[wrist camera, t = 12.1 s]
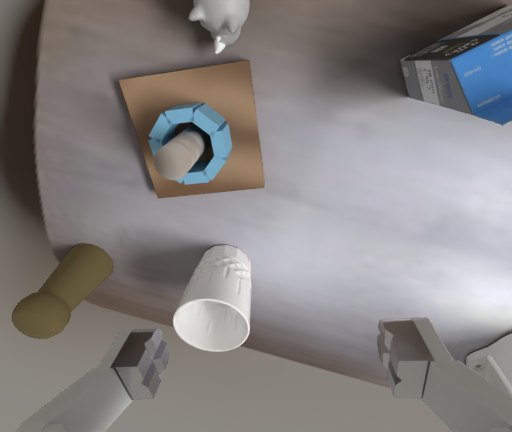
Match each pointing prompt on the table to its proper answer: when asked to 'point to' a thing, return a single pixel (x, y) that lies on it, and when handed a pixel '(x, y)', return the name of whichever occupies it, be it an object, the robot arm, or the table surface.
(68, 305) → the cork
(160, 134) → the ring
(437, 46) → the blue printed box
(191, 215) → the table surface
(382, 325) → the robot arm
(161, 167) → the post block
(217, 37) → the round bodied animal figurine
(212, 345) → the white cup
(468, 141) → the table surface
